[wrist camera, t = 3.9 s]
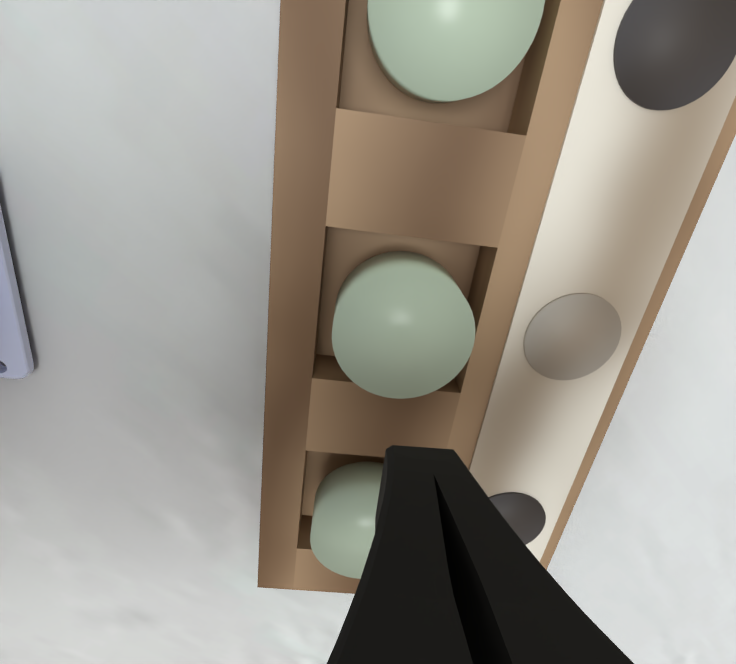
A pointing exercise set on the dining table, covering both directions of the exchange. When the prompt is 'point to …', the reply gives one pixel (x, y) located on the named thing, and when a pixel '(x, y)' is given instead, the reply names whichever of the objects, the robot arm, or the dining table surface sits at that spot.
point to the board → (484, 246)
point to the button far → (346, 517)
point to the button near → (450, 43)
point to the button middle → (401, 326)
